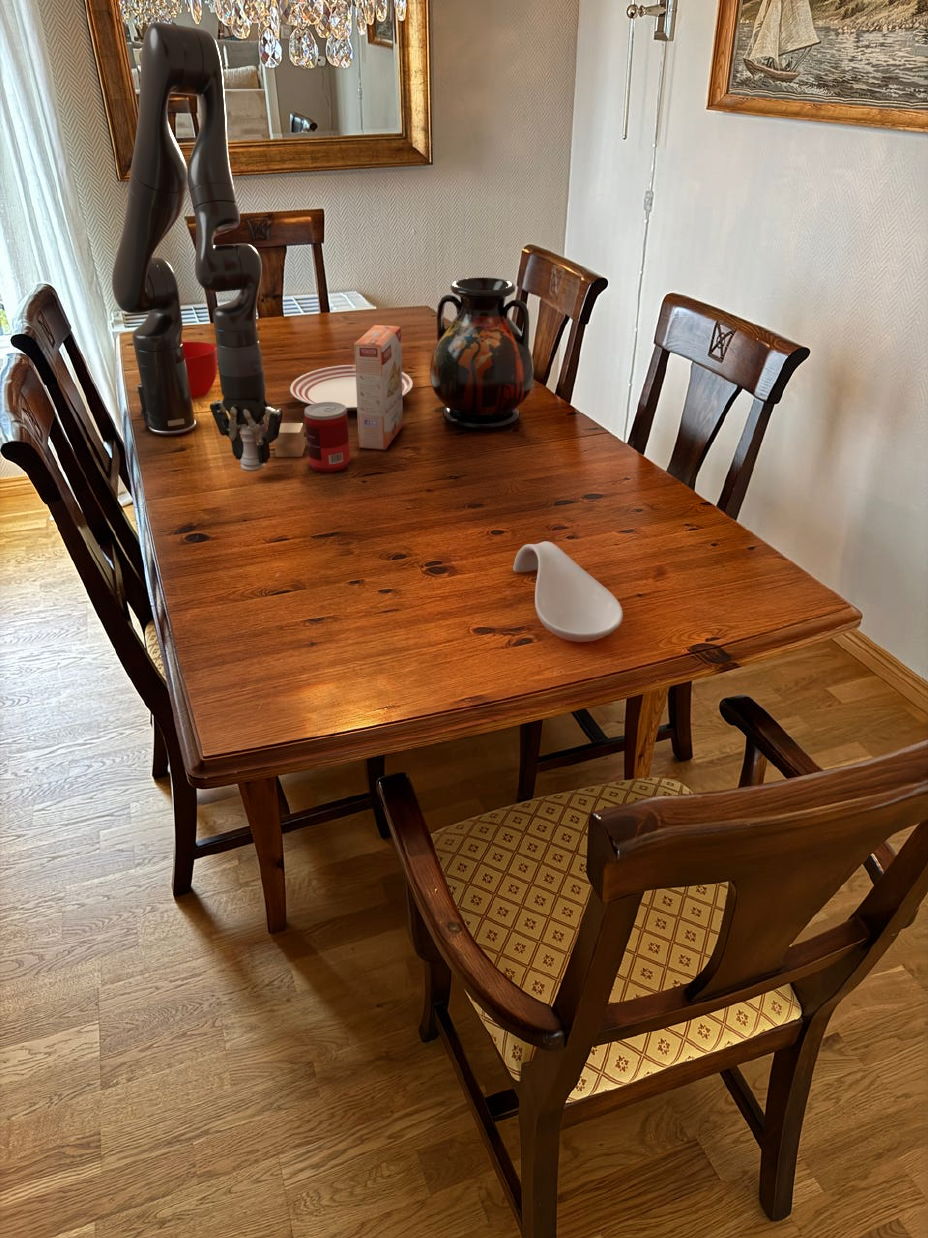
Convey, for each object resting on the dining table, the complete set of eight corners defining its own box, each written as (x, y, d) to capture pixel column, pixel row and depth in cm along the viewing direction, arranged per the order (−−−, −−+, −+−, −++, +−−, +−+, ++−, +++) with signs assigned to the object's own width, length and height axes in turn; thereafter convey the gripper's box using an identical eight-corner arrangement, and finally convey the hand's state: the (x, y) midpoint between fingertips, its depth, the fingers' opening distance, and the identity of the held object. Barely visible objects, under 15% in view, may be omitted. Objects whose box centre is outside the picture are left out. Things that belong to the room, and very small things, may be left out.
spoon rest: (636, 644, 121) (642, 599, 117) (557, 662, 117) (560, 616, 113) (559, 563, 139) (562, 522, 135) (489, 576, 136) (490, 534, 132)
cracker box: (387, 451, 177) (382, 345, 165) (358, 449, 178) (351, 342, 166) (405, 426, 188) (402, 325, 177) (377, 424, 189) (372, 323, 178)
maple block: (276, 456, 174) (273, 432, 172) (280, 446, 178) (277, 422, 176) (301, 456, 174) (299, 432, 172) (305, 446, 179) (302, 422, 176)
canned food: (357, 459, 173) (353, 404, 167) (339, 475, 167) (334, 418, 161) (321, 453, 175) (316, 399, 169) (302, 469, 169) (296, 413, 163)
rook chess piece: (242, 462, 167) (237, 421, 162) (266, 462, 167) (262, 421, 163) (239, 472, 163) (233, 430, 159) (264, 472, 163) (259, 430, 159)
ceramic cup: (237, 380, 213) (231, 338, 207) (208, 404, 199) (201, 359, 193) (186, 377, 214) (179, 335, 209) (153, 401, 200) (145, 356, 195)
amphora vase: (417, 433, 185) (413, 292, 170) (447, 399, 202) (446, 268, 187) (519, 444, 180) (525, 300, 165) (540, 408, 198) (547, 275, 182)
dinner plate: (384, 425, 189) (383, 410, 187) (269, 410, 196) (267, 395, 194) (430, 385, 210) (430, 371, 209) (324, 373, 218) (323, 359, 216)
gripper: (288, 366, 156) (296, 458, 165) (217, 356, 160) (229, 446, 169) (266, 379, 150) (276, 473, 159) (192, 369, 154) (207, 461, 163)
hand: (252, 459), depth 164 cm, fingers closed on rook chess piece, 4 cm apart
